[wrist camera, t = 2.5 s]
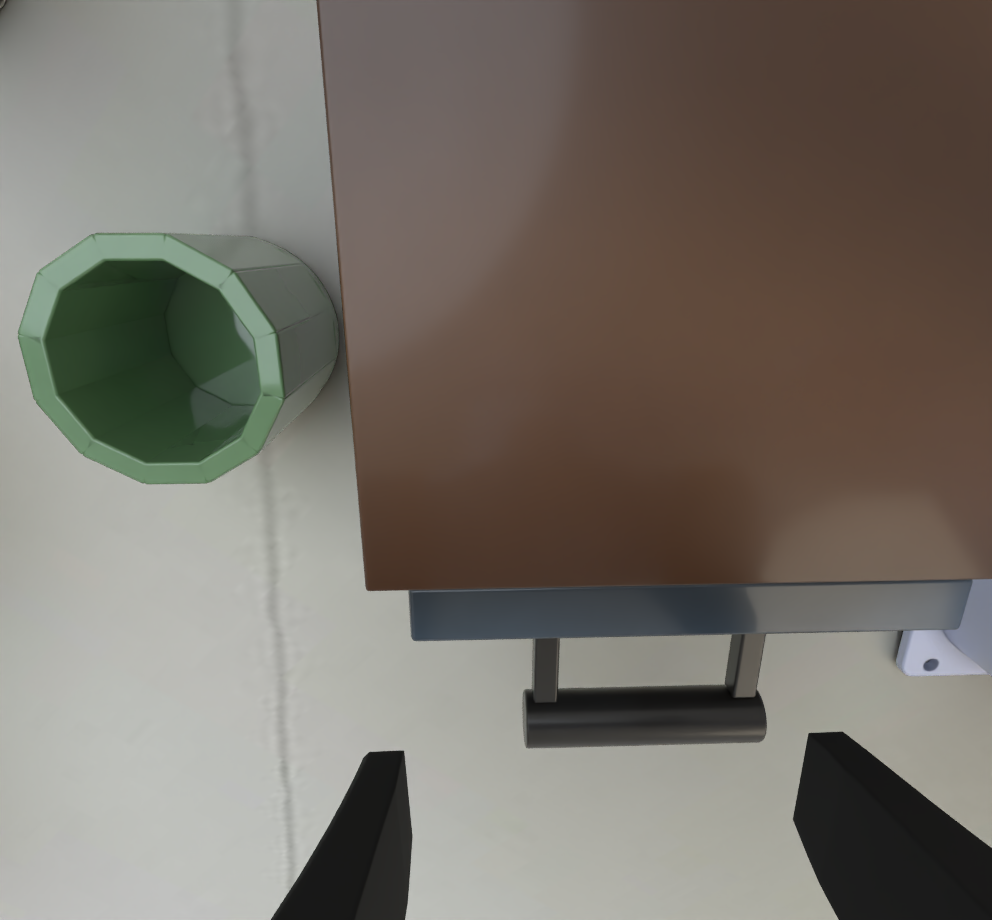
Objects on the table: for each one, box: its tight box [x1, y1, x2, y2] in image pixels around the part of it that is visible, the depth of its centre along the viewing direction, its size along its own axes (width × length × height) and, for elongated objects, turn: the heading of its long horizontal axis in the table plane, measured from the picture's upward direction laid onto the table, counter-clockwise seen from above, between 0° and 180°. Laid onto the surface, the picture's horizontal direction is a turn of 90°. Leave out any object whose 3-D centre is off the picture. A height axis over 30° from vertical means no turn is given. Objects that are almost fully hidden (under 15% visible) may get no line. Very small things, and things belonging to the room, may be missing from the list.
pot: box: [18, 233, 339, 484], centre depth 15 cm, size 5×5×6 cm
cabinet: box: [316, 0, 992, 591], centre depth 12 cm, size 15×12×9 cm
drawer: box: [409, 579, 973, 748], centre depth 14 cm, size 18×11×7 cm, turn 0°
